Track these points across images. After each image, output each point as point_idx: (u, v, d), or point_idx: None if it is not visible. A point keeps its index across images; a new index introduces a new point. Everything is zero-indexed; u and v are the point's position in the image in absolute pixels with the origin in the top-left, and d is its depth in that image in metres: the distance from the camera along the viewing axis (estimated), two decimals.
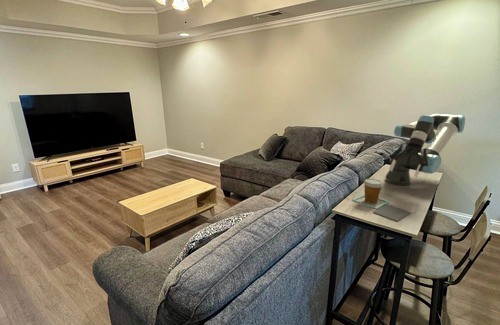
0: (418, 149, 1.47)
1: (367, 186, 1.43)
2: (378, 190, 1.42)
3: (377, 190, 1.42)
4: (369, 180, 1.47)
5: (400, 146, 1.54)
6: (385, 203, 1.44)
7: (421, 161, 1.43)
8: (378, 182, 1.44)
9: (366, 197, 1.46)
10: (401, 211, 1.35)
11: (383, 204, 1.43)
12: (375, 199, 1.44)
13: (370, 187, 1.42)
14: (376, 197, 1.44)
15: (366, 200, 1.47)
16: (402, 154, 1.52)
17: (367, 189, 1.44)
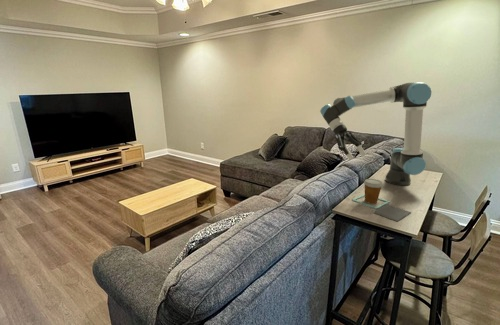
0: None
1: (367, 186, 1.43)
2: (378, 190, 1.42)
3: (377, 190, 1.42)
4: (369, 180, 1.47)
5: None
6: (385, 203, 1.44)
7: None
8: (378, 182, 1.44)
9: (366, 197, 1.46)
10: (401, 211, 1.35)
11: (383, 204, 1.43)
12: (375, 199, 1.44)
13: (370, 187, 1.42)
14: (376, 197, 1.44)
15: (366, 200, 1.47)
16: (350, 141, 1.56)
17: (367, 189, 1.44)
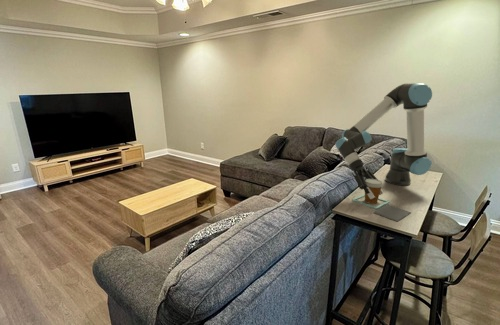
0: None
1: (367, 186, 1.43)
2: (378, 190, 1.42)
3: (377, 190, 1.42)
4: (369, 180, 1.47)
5: None
6: (385, 203, 1.44)
7: (361, 185, 1.45)
8: (378, 182, 1.44)
9: (366, 197, 1.46)
10: (401, 211, 1.35)
11: (383, 204, 1.43)
12: (375, 199, 1.44)
13: (370, 187, 1.42)
14: (376, 197, 1.44)
15: (366, 200, 1.47)
16: (367, 177, 1.51)
17: None
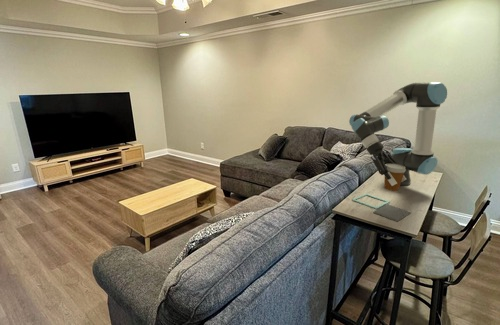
0: None
1: (388, 171, 1.28)
2: (401, 176, 1.26)
3: (399, 176, 1.26)
4: (390, 165, 1.31)
5: None
6: (385, 203, 1.44)
7: (381, 170, 1.30)
8: (400, 167, 1.28)
9: (386, 184, 1.31)
10: (401, 211, 1.35)
11: (383, 204, 1.43)
12: (397, 186, 1.28)
13: (392, 172, 1.27)
14: (398, 184, 1.28)
15: (386, 187, 1.31)
16: (387, 162, 1.35)
17: None
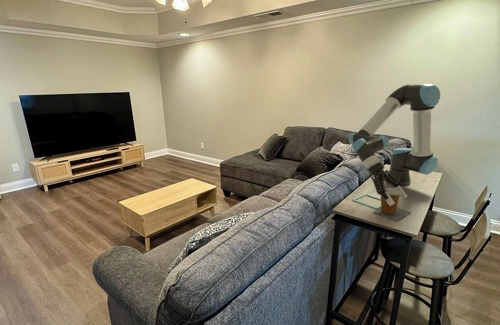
0: None
1: None
2: (396, 198, 1.28)
3: (395, 198, 1.28)
4: (385, 188, 1.34)
5: None
6: None
7: (379, 190, 1.30)
8: (396, 190, 1.31)
9: (383, 206, 1.31)
10: (401, 211, 1.35)
11: None
12: (393, 209, 1.29)
13: None
14: (394, 206, 1.29)
15: (383, 210, 1.32)
16: (388, 181, 1.37)
17: None
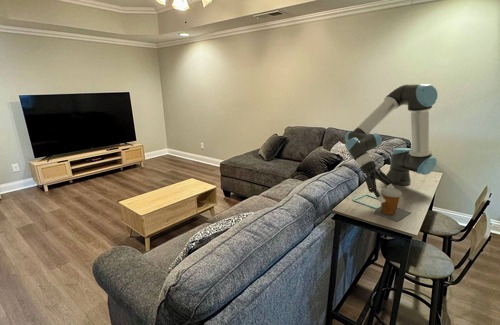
0: None
1: (384, 195, 1.29)
2: (396, 200, 1.27)
3: (395, 200, 1.27)
4: (386, 189, 1.33)
5: None
6: None
7: None
8: (396, 191, 1.29)
9: (383, 207, 1.31)
10: (401, 211, 1.35)
11: None
12: (393, 210, 1.29)
13: (387, 196, 1.28)
14: (394, 208, 1.29)
15: (383, 211, 1.32)
16: (380, 179, 1.40)
17: (384, 198, 1.30)
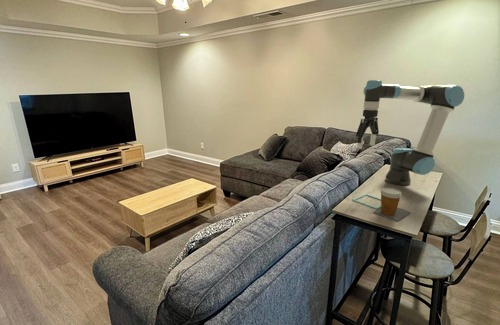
0: None
1: (384, 196, 1.29)
2: (396, 201, 1.27)
3: (395, 201, 1.27)
4: (386, 189, 1.32)
5: None
6: None
7: None
8: (397, 192, 1.29)
9: (382, 208, 1.31)
10: (401, 211, 1.35)
11: None
12: (393, 211, 1.29)
13: (387, 197, 1.28)
14: (394, 208, 1.29)
15: (382, 211, 1.32)
16: (370, 127, 1.51)
17: (384, 199, 1.29)
